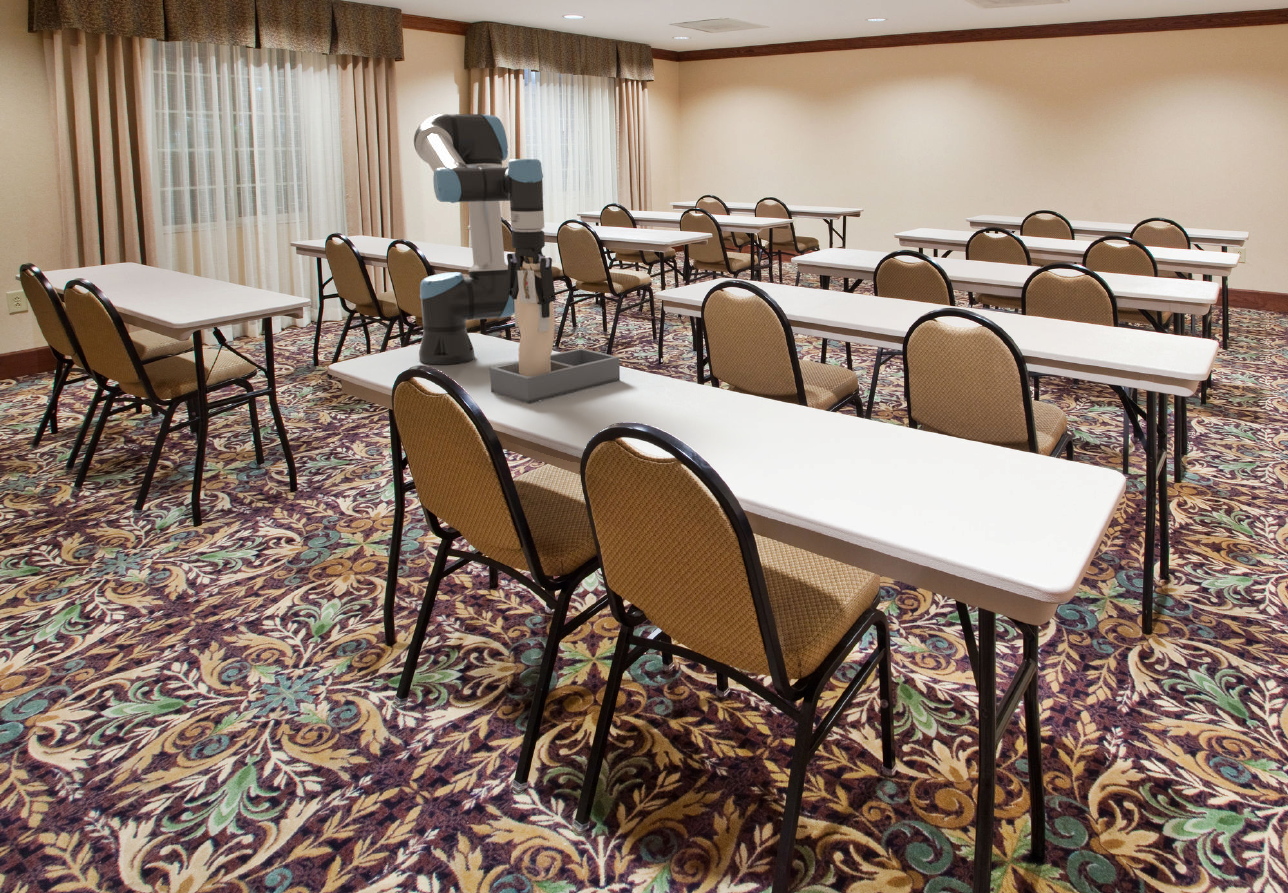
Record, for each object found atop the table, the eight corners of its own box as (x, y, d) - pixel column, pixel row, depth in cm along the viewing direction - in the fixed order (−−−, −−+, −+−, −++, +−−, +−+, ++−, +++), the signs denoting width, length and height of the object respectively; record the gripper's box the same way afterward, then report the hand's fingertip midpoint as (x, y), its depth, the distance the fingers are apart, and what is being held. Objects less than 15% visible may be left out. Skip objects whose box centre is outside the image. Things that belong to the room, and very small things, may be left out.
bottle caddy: (491, 391, 206) (489, 367, 204) (582, 370, 226) (581, 348, 224) (528, 403, 196) (527, 378, 194) (619, 380, 216) (619, 357, 214)
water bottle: (550, 380, 200) (550, 261, 190) (512, 378, 200) (510, 258, 190) (556, 368, 209) (557, 254, 199) (520, 366, 210) (519, 251, 199)
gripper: (487, 228, 198) (492, 324, 205) (544, 234, 184) (548, 337, 192) (512, 226, 203) (517, 320, 210) (570, 231, 189) (572, 332, 197)
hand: (532, 328), depth 201 cm, fingers closed on water bottle, 8 cm apart
